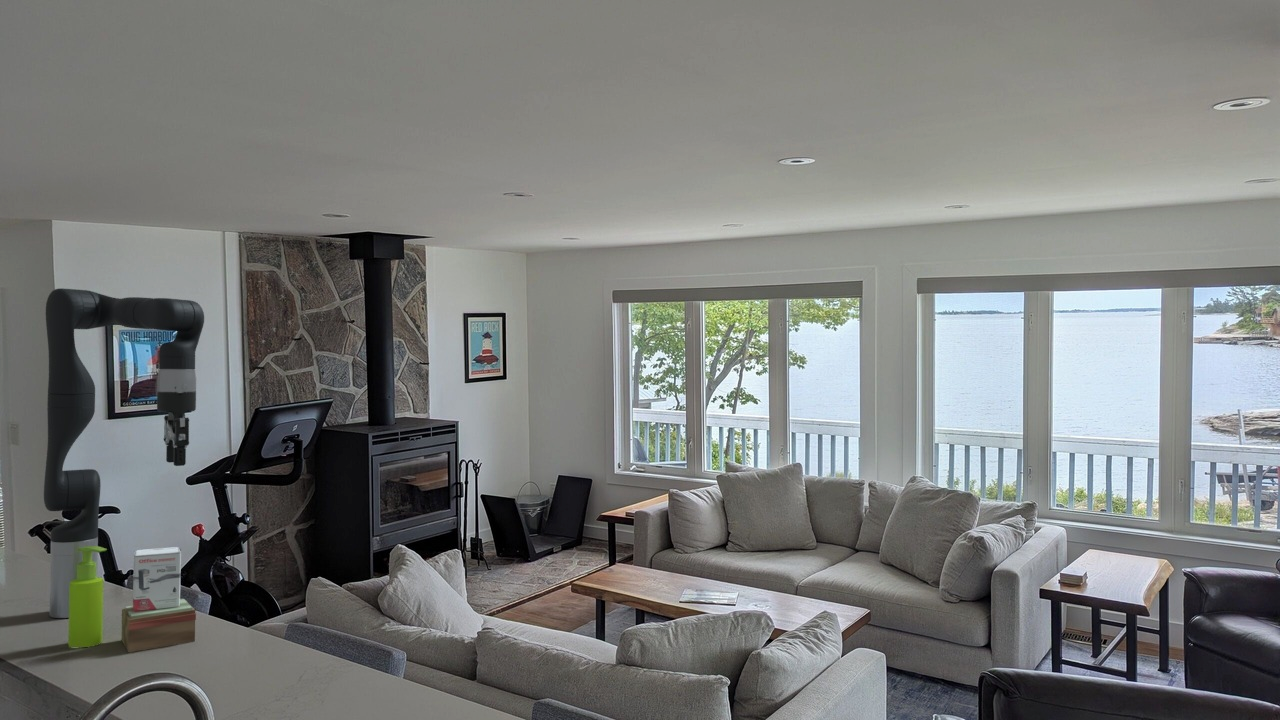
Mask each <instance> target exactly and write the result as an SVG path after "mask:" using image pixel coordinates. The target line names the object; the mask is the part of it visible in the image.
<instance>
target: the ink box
mask: <svg viewBox="0 0 1280 720" xmlns="http://www.w3.org/2000/svg"><path fill="white" fill-rule="evenodd" d="M181 568H182V548H181V547H178V546H173V547H158V548H147V549H137V550H136V551H134V552H133V577H132V578H133V582H132V585H133V586H132V606H133V611H134V612H137V611H145V610H154V609H163V608H171V607H179V605H180V599H181V575H182V574H181V573H182V571H181V570H182V569H181Z"/></svg>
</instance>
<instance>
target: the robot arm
mask: <svg viewBox="0 0 1280 720" xmlns="http://www.w3.org/2000/svg"><path fill="white" fill-rule="evenodd" d="M204 313H205V312H204V310H203V308H202V306H201V305H200V304H199V303H198V302H196V301H194V300H191V299H178V298H170V297H169V298H168V297H167V298H165V297H158V298H157V297H156V298H153V297H137V296H136V297H134V296H131V297H130V296H129V297H123V298H118V297H117V298H116V297H111V296H109V295H105V294H102V293H98V292H95V291H91V290H86V289H75V288H74V289H73V288H55V289H54V290H52V291H51V292H50V293H49V295H48V297H47V300H46V303H45V324H46V325H45V328H46V336H47V347H48V382H47V383H48V386H47V402H46V403H47V406H46V407H47V409H46V410H47V449H46V450H47V451H46V461H45V471H44V482H43V483H44V484H43V501H44V506H45V508H46V510H48V512H63V511H64V512H65V511H75V510H76V511H77V510H81V512H80V513H79V514H78V515H77V516H76V517H74V518H73V519H71V520H69V521H67V522H64V523H62V524H58V525H56V526H54V527H53V528H52V529H51V530H50V531H51V532H50V560H49V561H50V563H49V564H50V568H49V569H50V572H49V613H48V614H49V617H50V618H56V619H66V618H67V619H69V585H70V581H72V580H75V579H77V564H79V563H80V562H82V551H78V548H81V547H87V546H98V547H99V545H98V544H99V511H100V510H99V509H100V500H101V485H102V484H101V477H100V474H99V472H98V471H97V470H96V469H93V468H91V469H89V468H88V469H86V468H85V469H71V470H70V469H69V470H67V469H66V470H63V468H64V464H65V460H66V458H67V455H68V453H69V452H70V450H71V448H72V447H73V445H74V444H75V442H76V441H77V439H78V438H79V437H80V436H81V434H82V433H83V432H84V430H85V429H86V428H87V427H88V425H89V424H90V422H91V421H92V419H93V418H94V415H95V413H96V411H95V410H96V385H95V382H94V380H93V378H92V376H91V374H90V372H89V371H88V369H87V367H86V366H85V364H84V363H83V361H82V360H81V358H80V356H79V353H78V352H77V347H76V344H75V342H76V341H75V330H91V329H98V328H102V327H104V328H105V327H109V326H122V327H125V328H129V329H130V328H131V329H140V330H142V329H143V330H158V331H159V330H160V331H168V332H169V331H170V332H172V331H173V332H176V334H175V337H174V339H173V340H172V341H168V342H164V343H162V344H161V345H160V347H159V350H158V351H159V353H158V355H159V356H158V357H159V358H158V375H157V380H156V381H157V382H156V383H157V384H156V394H157V395H156V399H157V400H156V410H157V412H159V413H167V415H166V414H165V415H164V417H163V419H164V426H163V427H164V432H163V442H164V444H165V445H166V446H165V447H166V452H165V453H166V455H165V456H166V459H165V460H166V462H167V463H173V466H176V467H181V466H185V465H186V464H187V463H186V461H187V460H186V454H187V452H186V451H187V449H186V448H187V447H188V446H189V444H190V426H189V425H190V419H189V417H186V413H188V412H189V413H191V412H195V411H196V409H197V376H196V352H197V351H196V350H197V346H198V344H199V340H200V337H201V334H202V332H203V328H204V325H205V314H204ZM98 555H99V553H97V552H94V551H92V561H94V562H96V577H98V559H99V558H98V557H99V556H98Z"/></svg>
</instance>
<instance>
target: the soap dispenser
mask: <svg viewBox="0 0 1280 720" xmlns="http://www.w3.org/2000/svg"><path fill="white" fill-rule="evenodd" d="M107 550H108V549H107V548H106V547H105V548H104V547H102V546H99V545H98V546H87V547H81V548H78V551H82V562H80V563H79V564H77V579H75V580H72V581H70V585H69V618H68V644H67V645H69V646H70V647H88V648H90V647H89V646H92V647H94V646H93V645H96V646H98V645H97V644H99V643H101V642H102V643H103V627H104V625H103V623H104V622H103V620H104V618H103V617H104V616H103V615H104V578H103V577H99V576H97V577H96V562H94V561H92V551H94V552H97V553H98V554H99V553H103V552H106V551H107ZM102 643H101V644H102ZM99 645H100V644H99ZM69 646H68V647H69ZM70 647H69V648H70Z"/></svg>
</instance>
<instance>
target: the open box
mask: <svg viewBox="0 0 1280 720" xmlns="http://www.w3.org/2000/svg"><path fill="white" fill-rule="evenodd" d="M196 617H197V614H196V609H195V608H194V607H193V606H192V605H191V604H190V603H189V602H188V601H187V599H185V598H180V605H179V607H171V608H163V609H154V610H145V611H137V612H134V611H133V605H129V606H125V607H124V608H122V609H121V641H122V643H124V644H123V645H124V647H125V648H126V651H127V652H128V653H131V652H133V653H134V652H140V651H144V650H151V649H152V650H153V649H156V648H162V647H168V646H175V645H179V644H180V645H182V644H187V643H191V642H192V643H193V642H195V641H196V620H197V618H196Z"/></svg>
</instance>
